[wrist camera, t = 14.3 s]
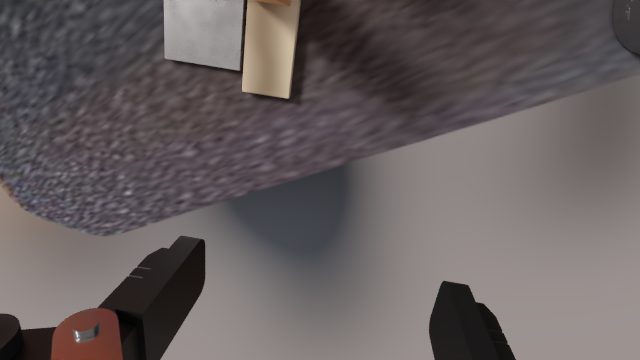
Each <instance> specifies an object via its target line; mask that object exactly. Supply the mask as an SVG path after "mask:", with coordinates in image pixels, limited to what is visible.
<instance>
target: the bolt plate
mask: <svg viewBox="0 0 640 360" xmlns="http://www.w3.org/2000/svg"><path fill="white" fill-rule="evenodd" d="M245 6H246V0H164V35H165V59H171V60H177V61H183V62H190V63H196V64H202V65H208V66H214V67H220V68H227V69H233V70H239V71H240V70H242V56H243V39H244V23H245Z"/></svg>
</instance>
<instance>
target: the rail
mask: <svg viewBox="0 0 640 360" xmlns="http://www.w3.org/2000/svg"><path fill="white" fill-rule="evenodd" d="M300 6H301V0H291V5H290V6H284V5H278V4H271V3H265V2H259V1H254V0H248V1H247V17H246V33H245V49H244V65H243V81H242V91H244V92H250V93H256V94H262V95H269V96H275V97H281V98H287V99H289V98H290V94H291V85H292V76H293V67H294V59H295V50H296V41H297V32H298V23H299V15H300Z"/></svg>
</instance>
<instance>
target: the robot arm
mask: <svg viewBox="0 0 640 360" xmlns="http://www.w3.org/2000/svg"><path fill="white" fill-rule="evenodd" d="M613 27H614V31H615V33H616V36H617V38H618V40H619V41H620V42H621V44H622V45H623V46H624V47H626V48H627V49H628V50H629V51H631V52H634V53H636V54H639V55H640V0H616V1H615V5H614V9H613ZM204 282H205V241H204V240H203V239H198V238H192V237H186V236H180V237H179V238H178V239H177V240H176V241H175V242H174V244H172V246H171V247H170V248H169V249H167V248H161V249H159V250H157V251H155V252H153V253H151V254H149V255H148V256H147V257H146V258H145V259H144V260H143V261H142V262H141V263H140V264H139V265H138V267H137V268H135V269H134V270H133V271H132V272H131V273H130V275H129V277H126V279H125V280H124V281H123V282H122V283H121V284H120V285H119V286H118V287H117V288H116V289H115V290H114V291H113V292H112V293H111V294H110V295H109V296H108V297H107V298H106V299H105V301H104V302H102V304H101V305H100V306H99V307H98V308H92V309H87V310H83V311H80V312H77V313H75V314H73V315H71V316H69V317H68V318H66V319H65V320H64V321H62V322H61V323H60V324H59V325H58V326H57V327H52V328H39V329H26V330H21V327H20V324H19V320H18V319H17V318H16V317H15V316H12V315H10V314H0V360H160V359H161V357H162V356H163V354H164V353H165V351H166V349H167V348H168V346H169V344H170V343H171V341H172V340H173V338H174V336H175V335H176V333H177V331H178V330H179V328H180V327H181V325H182V323H183V322H184V320H185V319H186V317H187V315H188V313H189V312H190V310H191V309H192V307H193V306H194V304H195V302H196V301H197V299H198V297H199V296H200V294H201V292H202V289H203V286H204ZM429 334H430V340H431V345H432V349H433V354H434V358H435V360H516V359H515V357H514V355H513V353H512V350H511V348H510V346H509V345H508V344H507V340H506V338H505V336H504V333H502V329H501V327H500V325H499V323H498V321H497V318H496V317H495V315H494V314H493V313H492V312H491V311H490V310H489V309H488V308H487V307H486V306H485V305H484V304H482V303H477V302H475V299H474V297H473V295H472V292H471V290H470V288H469V286H468V285H465V284H459V283H453V282H447V281H443V282H442V284H441V286H440V289H439V292H438V295H437V298H436V301H435V304H434V308H433V311H432V314H431V317H430V323H429Z"/></svg>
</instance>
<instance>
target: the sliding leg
mask: <svg viewBox="0 0 640 360" xmlns="http://www.w3.org/2000/svg"><path fill="white" fill-rule="evenodd" d="M254 1H259V2H265V3H271V4H278V5H284V6H290V5H291V0H254Z"/></svg>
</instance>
